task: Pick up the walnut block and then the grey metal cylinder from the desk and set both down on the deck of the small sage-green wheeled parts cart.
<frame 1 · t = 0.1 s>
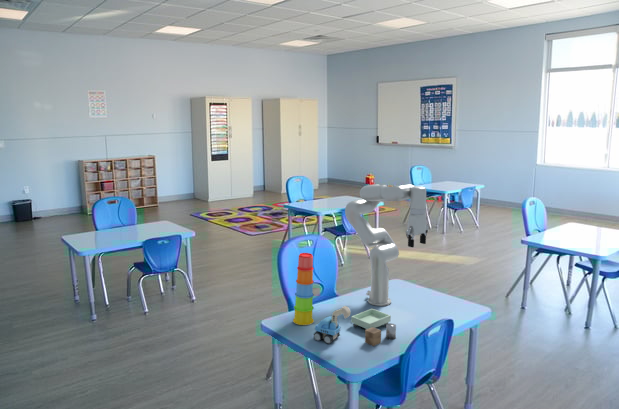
hand: (416, 245, 250), 37 cm above the table, tool pointing down, fingers open, 9 cm apart
grey metal cylinder: (390, 337, 230), on the table
parts cart: (370, 325, 243), on the table
toy excavator: (332, 340, 228), on the table
walnut block: (373, 342, 225), on the table
stacking cups: (303, 321, 249), on the table
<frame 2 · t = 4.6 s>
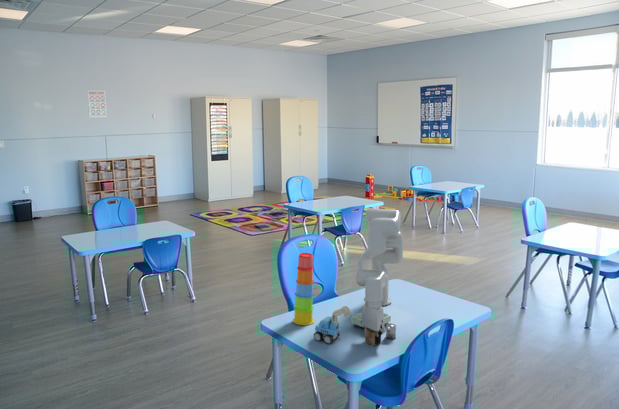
hand: (373, 341, 225), 1 cm above the table, tool pointing down, fingers closed on walnut block, 5 cm apart
walnut block: (373, 342, 225), on the table, touching gripper
everything else where it was.
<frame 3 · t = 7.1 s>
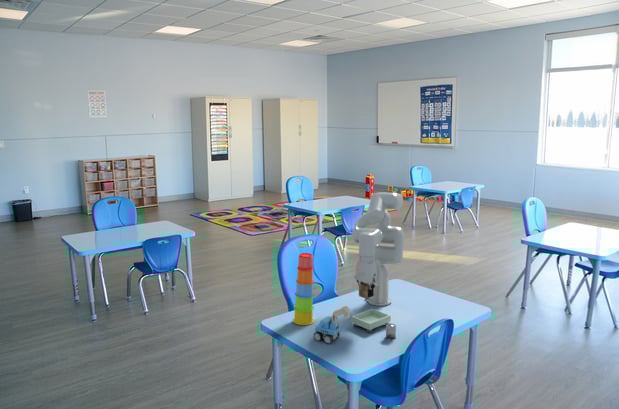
hand: (366, 294, 238), 17 cm above the table, tool pointing down, fingers closed on walnut block, 5 cm apart
walnut block: (366, 296, 238), point 16 cm above the table, touching gripper
everything else where it was.
when the fingers open (5 cm above the table, at t = 9.6 s): walnut block drops 1 cm, resting on parts cart.
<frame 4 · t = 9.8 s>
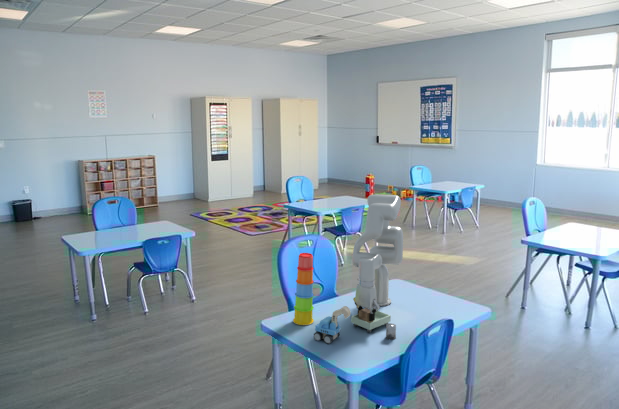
hand: (366, 318, 240), 5 cm above the table, tool pointing down, fingers open, 7 cm apart
walnut block: (366, 322, 240), point 3 cm above the table, touching parts cart
everything else where it was.
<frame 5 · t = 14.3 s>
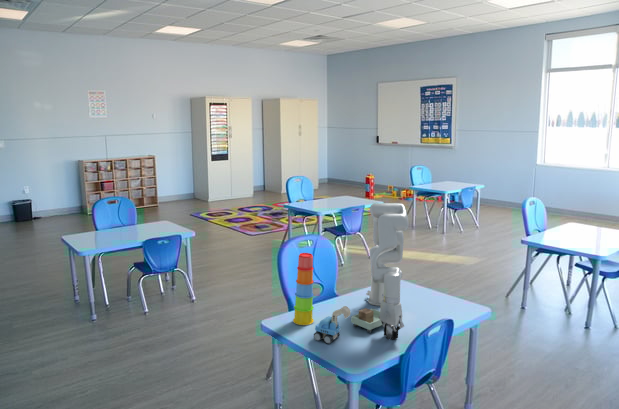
hand: (390, 336, 230), 1 cm above the table, tool pointing down, fingers closed on grey metal cylinder, 4 cm apart
grey metal cylinder: (390, 337, 230), on the table, touching gripper
everything else where it was.
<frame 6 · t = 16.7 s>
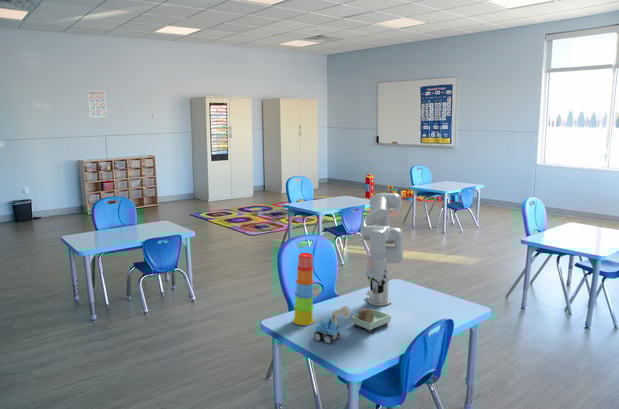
hand: (376, 290, 243), 17 cm above the table, tool pointing down, fingers closed on grey metal cylinder, 4 cm apart
grey metal cylinder: (376, 292, 243), point 16 cm above the table, touching gripper
everything else where it was.
when the fingers open (4 cm above the table, at t = 19.2 s): grey metal cylinder drops 1 cm, resting on parts cart.
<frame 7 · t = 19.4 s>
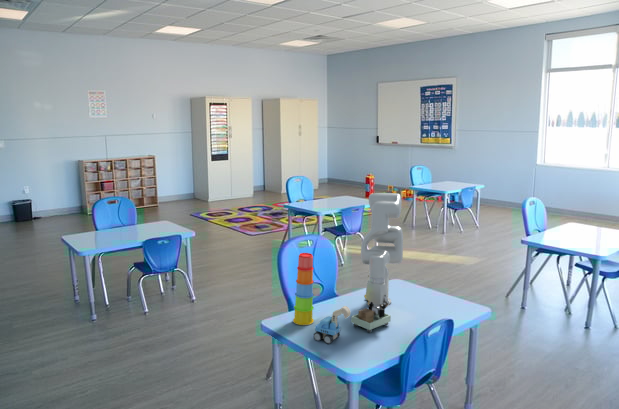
hand: (376, 314, 245), 5 cm above the table, tool pointing down, fingers open, 6 cm apart
grey metal cylinder: (376, 318, 245), point 3 cm above the table, touching parts cart
everything else where it was.
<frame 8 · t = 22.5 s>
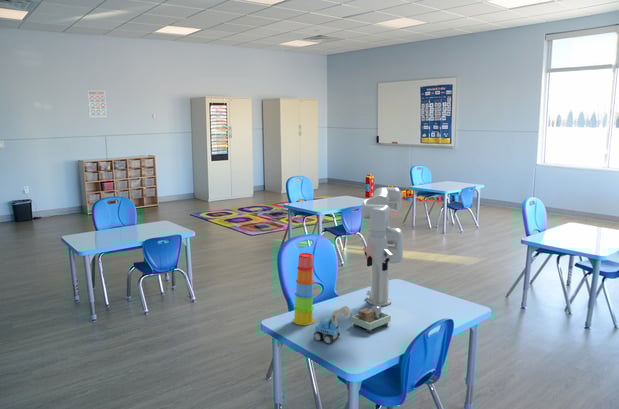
hand: (377, 268, 241), 28 cm above the table, tool pointing down, fingers open, 9 cm apart
nothing on the table moved.
at the end: walnut block inside the target area on the parts cart (3.5 cm from its centre), point 2.6 cm above the parts cart's base; grey metal cylinder inside the target area on the parts cart (4.0 cm from its centre), point 2.6 cm above the parts cart's base; grey metal cylinder tilted 0° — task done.
